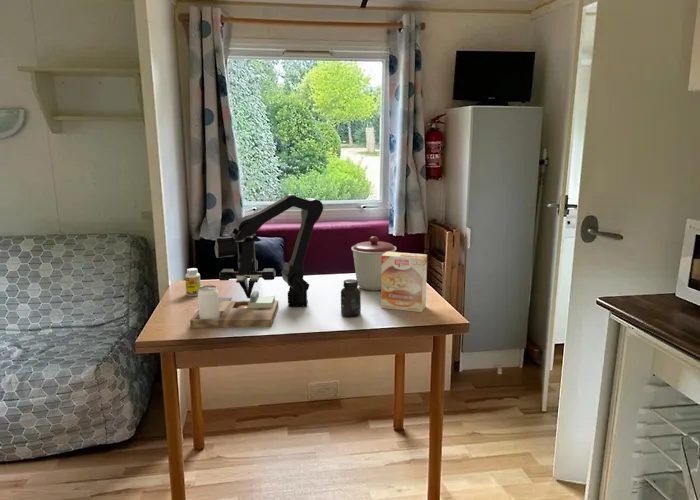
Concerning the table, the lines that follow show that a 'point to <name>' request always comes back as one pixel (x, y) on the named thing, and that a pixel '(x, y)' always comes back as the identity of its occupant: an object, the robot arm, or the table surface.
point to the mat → (224, 299)
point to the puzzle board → (237, 316)
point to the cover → (260, 301)
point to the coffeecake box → (403, 281)
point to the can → (208, 302)
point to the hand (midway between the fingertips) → (248, 298)
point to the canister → (370, 262)
